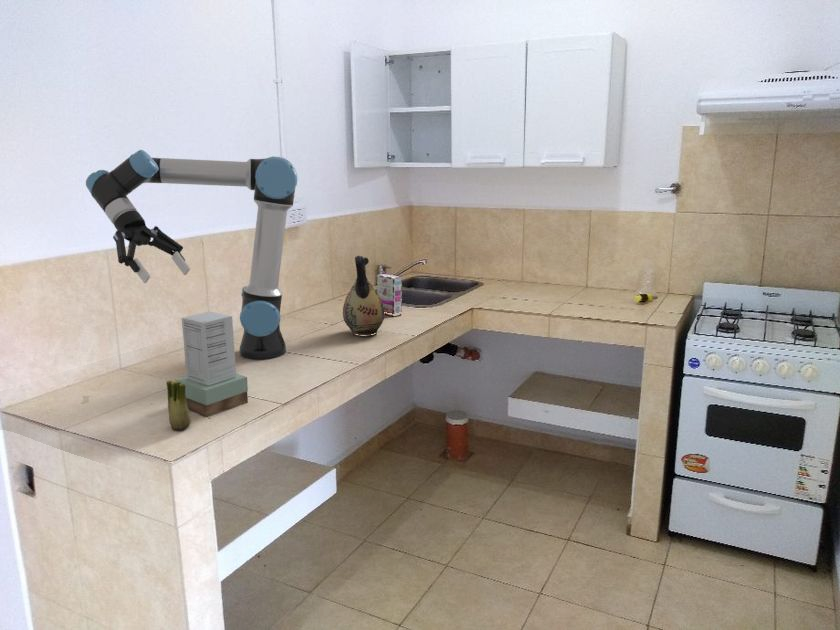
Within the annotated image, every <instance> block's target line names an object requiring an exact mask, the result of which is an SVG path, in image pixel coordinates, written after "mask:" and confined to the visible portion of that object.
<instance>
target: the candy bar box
mask: <svg viewBox="0 0 840 630" xmlns="http://www.w3.org/2000/svg"><path fill="white" fill-rule="evenodd" d="M376 292H377V293H378V295H379V297H380V298H381V301H382V304H383V307H384V312H387V313H392V314H395V313H399V312H402V311H403V295H402V294H403V277H401V276H399V275H392V274H387V273H381V274H376ZM402 313H403V312H402Z"/></svg>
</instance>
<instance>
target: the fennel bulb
mask: <svg viewBox="0 0 840 630" xmlns="http://www.w3.org/2000/svg"><path fill="white" fill-rule="evenodd" d="M166 388H167V408H168V410H167V411H168V421H169V426H170V428H171V429H172V430H174V431H183V430H186V429H188V427H190V424H191V422H192V421H191V420H192V419H191V415H190V410H188V407H187V403H186V393H185V384H184V383H181V382H180V381H178V382H177V383H176V382H175V381H172V380H166Z"/></svg>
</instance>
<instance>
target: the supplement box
mask: <svg viewBox="0 0 840 630" xmlns="http://www.w3.org/2000/svg"><path fill="white" fill-rule="evenodd" d="M181 324H182V325H181V326H182V338H183V339H182V340H183V346H184V349H183V350H184V363H185V373H186V376H187V379H188V380H192V381H195V382H198V383H201V384H204V385H207V386H209V385H212V384H215V383H219V382H222V381H225V380H228V379H231V378H235V377H236V374H237V366H236V354H235V341H234V340H235V339H234V326H233V325H234V324H233V316H231V315H227V314H223V313H218V312H214V311H205V312H202V313H197V314H193V315H189V316H183V317H182V318H181Z"/></svg>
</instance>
